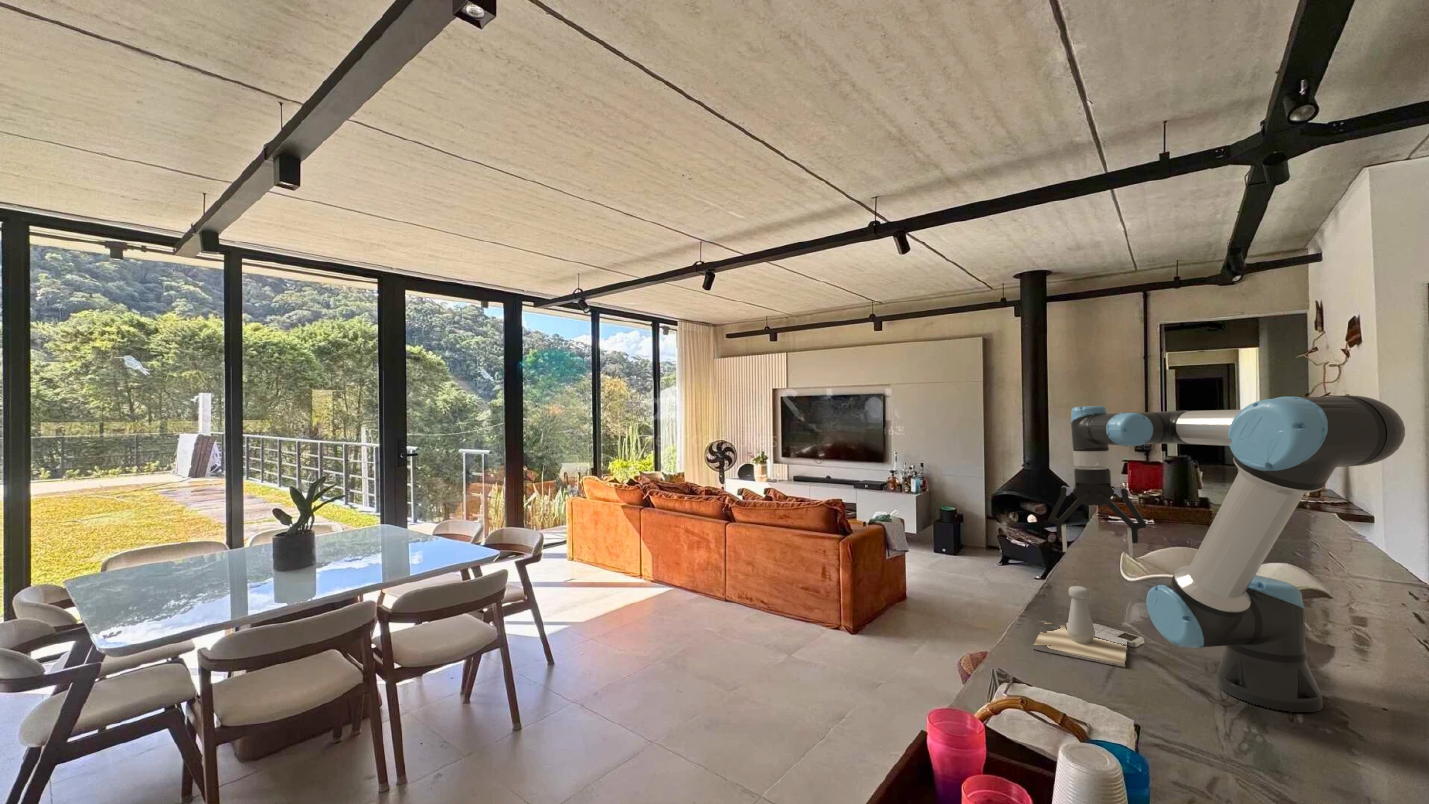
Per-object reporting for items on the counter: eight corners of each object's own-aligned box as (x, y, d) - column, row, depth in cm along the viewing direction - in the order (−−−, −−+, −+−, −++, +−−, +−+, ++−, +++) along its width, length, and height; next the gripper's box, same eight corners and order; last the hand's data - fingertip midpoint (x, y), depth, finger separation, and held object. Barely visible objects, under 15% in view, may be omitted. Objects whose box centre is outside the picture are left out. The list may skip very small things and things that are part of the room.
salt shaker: (1094, 647, 135) (1091, 592, 135) (1066, 642, 138) (1063, 588, 139) (1096, 639, 140) (1093, 586, 140) (1068, 634, 143) (1066, 582, 143)
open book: (1125, 668, 126) (1124, 662, 126) (1033, 650, 137) (1033, 645, 138) (1128, 641, 141) (1127, 636, 141) (1045, 626, 152) (1044, 622, 152)
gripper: (1153, 467, 137) (1159, 555, 137) (1036, 466, 152) (1041, 545, 151) (1155, 469, 131) (1162, 562, 130) (1033, 468, 146) (1038, 551, 145)
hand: (1097, 553), depth 141 cm, fingers open, 13 cm apart
